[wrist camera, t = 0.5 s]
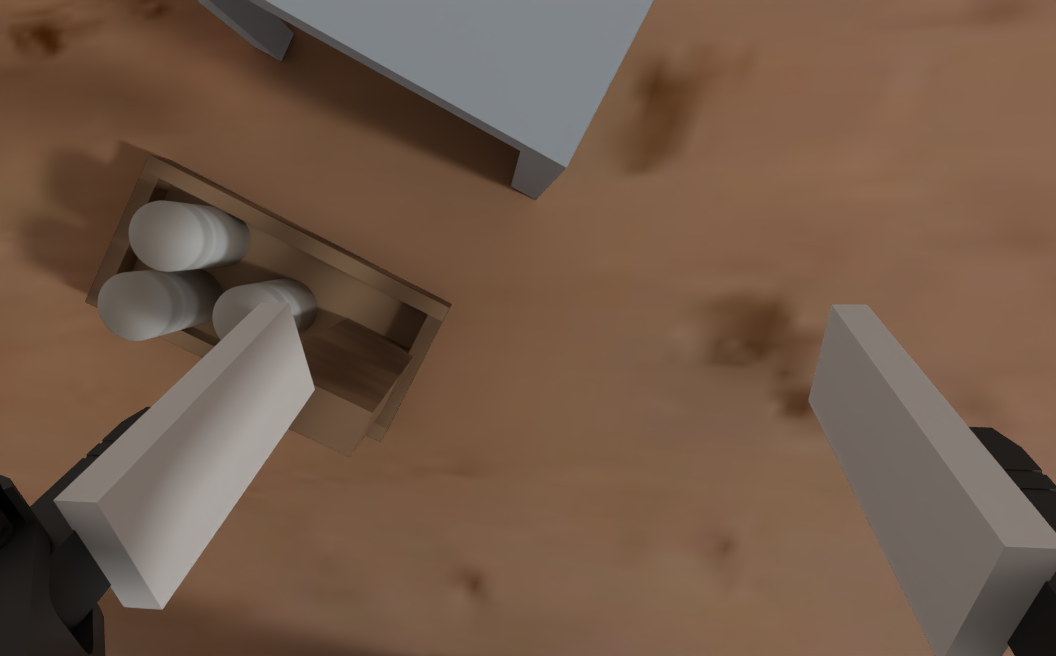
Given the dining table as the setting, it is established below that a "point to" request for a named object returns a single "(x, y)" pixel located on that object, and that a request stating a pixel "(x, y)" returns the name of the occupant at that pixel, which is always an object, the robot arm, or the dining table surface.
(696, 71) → the dining table surface
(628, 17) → the grey step stool
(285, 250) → the tray
